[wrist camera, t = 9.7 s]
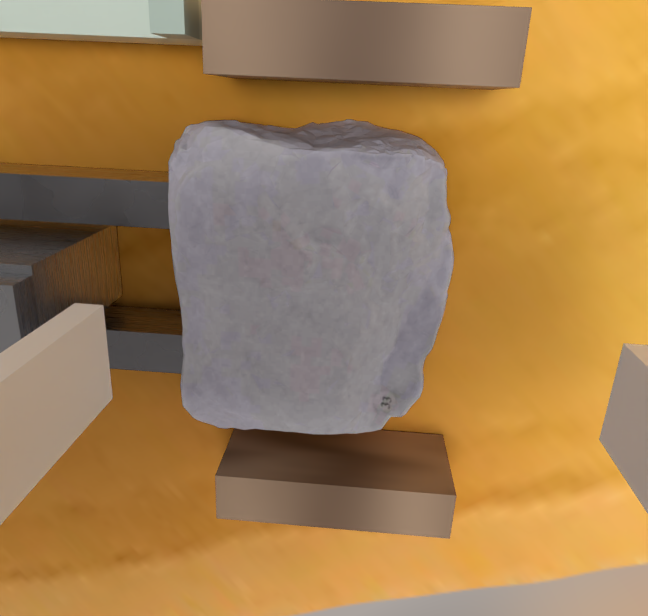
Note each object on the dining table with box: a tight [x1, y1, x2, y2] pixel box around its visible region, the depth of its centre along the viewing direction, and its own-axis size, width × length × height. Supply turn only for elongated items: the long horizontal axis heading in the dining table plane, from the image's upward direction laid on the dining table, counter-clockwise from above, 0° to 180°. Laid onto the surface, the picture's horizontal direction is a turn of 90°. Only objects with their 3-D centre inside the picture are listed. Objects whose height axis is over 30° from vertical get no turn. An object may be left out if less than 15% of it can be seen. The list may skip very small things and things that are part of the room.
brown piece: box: [201, 0, 532, 539], centre depth 20 cm, size 9×18×4 cm, turn 178°
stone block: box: [168, 119, 454, 435], centre depth 21 cm, size 12×5×10 cm
